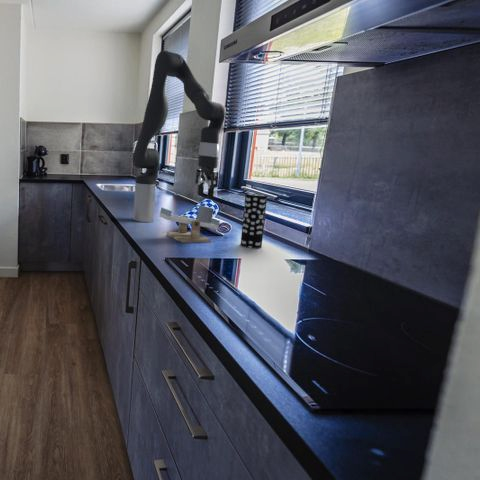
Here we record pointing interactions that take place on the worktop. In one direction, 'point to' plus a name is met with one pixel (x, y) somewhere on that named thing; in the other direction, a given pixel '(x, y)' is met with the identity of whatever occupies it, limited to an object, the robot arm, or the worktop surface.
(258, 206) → the spotted tube
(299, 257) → the worktop surface
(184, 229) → the pivot stand
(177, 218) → the beam
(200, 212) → the steel weight
